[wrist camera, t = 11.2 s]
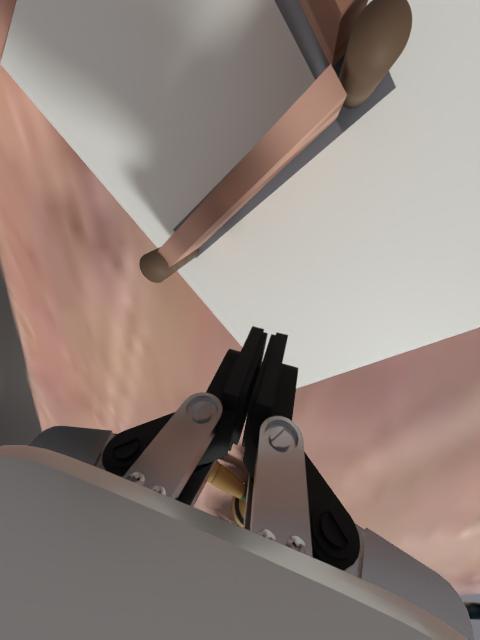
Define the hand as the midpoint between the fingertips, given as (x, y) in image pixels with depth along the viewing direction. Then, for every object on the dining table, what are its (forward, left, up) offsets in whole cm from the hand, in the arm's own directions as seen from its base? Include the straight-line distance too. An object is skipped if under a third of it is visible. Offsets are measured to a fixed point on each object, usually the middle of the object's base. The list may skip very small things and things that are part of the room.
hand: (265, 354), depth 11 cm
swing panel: (-2, -7, -7) cm, 9 cm away
